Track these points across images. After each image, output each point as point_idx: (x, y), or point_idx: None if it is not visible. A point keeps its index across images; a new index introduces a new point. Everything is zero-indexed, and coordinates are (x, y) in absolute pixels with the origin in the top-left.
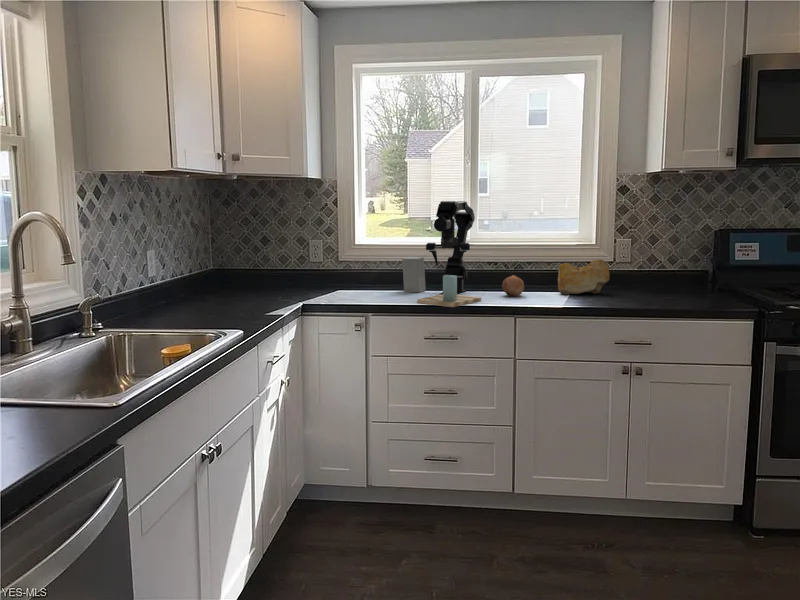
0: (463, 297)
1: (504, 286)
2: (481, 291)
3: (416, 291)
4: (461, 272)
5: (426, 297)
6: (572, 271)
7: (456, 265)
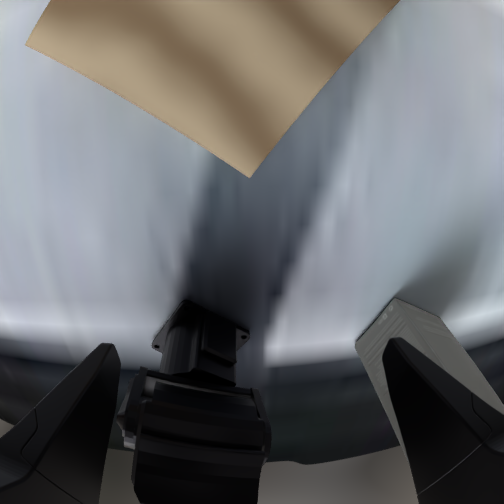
0: (125, 6)
1: None
2: (90, 348)
3: (405, 302)
4: (146, 397)
5: (387, 6)
6: None
7: (176, 441)
